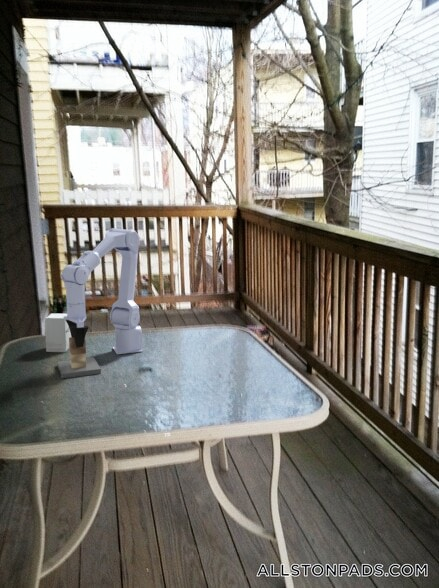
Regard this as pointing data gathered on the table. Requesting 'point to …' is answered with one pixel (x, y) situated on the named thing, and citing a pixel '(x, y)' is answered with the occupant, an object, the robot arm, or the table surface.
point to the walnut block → (74, 349)
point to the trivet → (68, 371)
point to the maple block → (77, 360)
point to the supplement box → (57, 333)
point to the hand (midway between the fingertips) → (77, 343)
